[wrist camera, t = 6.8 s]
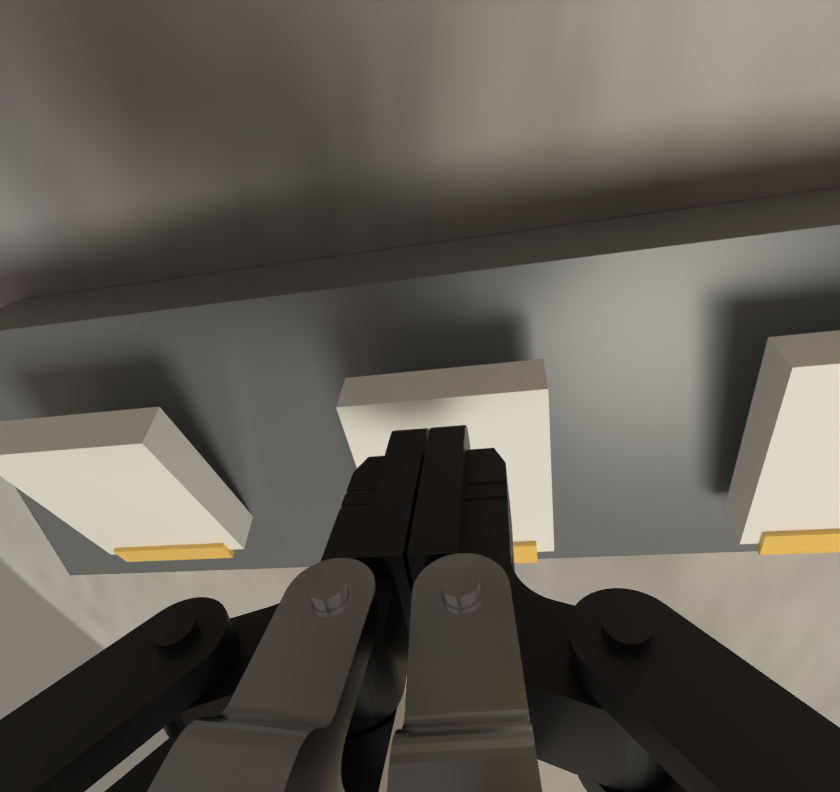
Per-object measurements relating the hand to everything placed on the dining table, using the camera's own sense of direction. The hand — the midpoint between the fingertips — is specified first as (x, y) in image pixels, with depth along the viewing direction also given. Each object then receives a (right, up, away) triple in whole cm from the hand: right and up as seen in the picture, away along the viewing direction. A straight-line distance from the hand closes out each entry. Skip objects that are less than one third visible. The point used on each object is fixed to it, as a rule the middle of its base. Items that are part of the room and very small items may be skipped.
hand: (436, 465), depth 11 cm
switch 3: (+10, 0, +2) cm, 11 cm away
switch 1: (-9, -2, +5) cm, 11 cm away
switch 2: (+1, -1, +4) cm, 4 cm away
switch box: (+1, +2, +9) cm, 9 cm away
